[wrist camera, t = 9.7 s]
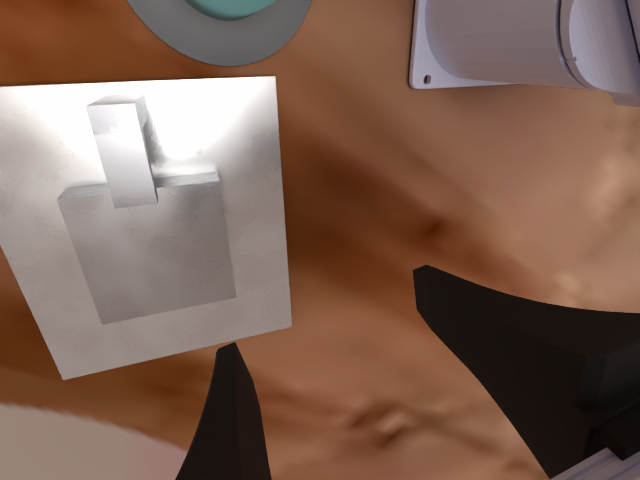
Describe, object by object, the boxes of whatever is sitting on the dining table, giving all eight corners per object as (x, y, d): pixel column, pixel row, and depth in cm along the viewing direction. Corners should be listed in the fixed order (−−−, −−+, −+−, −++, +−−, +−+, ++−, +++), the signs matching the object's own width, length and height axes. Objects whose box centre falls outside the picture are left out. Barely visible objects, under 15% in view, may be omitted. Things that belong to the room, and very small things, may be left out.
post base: (271, 75, 19) (297, 81, 15) (289, 319, 26) (309, 370, 22) (-61, 88, 15) (-153, 101, 11) (66, 370, 23) (40, 443, 18)
